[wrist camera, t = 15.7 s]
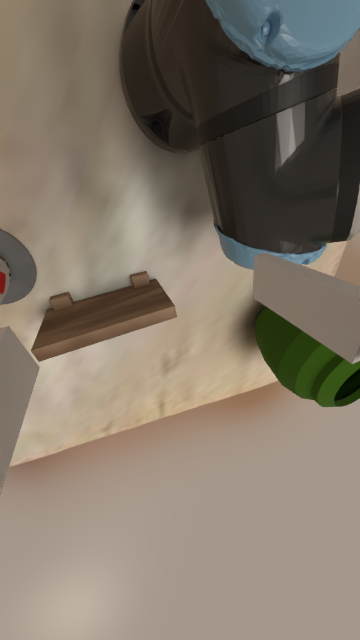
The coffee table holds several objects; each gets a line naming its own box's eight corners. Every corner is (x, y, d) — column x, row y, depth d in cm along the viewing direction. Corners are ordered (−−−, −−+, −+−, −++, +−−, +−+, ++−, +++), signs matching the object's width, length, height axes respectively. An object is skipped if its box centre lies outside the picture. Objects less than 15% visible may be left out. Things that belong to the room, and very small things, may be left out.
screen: (41, 299, 37) (22, 339, 27) (153, 269, 40) (172, 293, 31) (57, 327, 40) (46, 371, 30) (160, 297, 44) (179, 327, 34)
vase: (257, 357, 64) (329, 431, 44) (222, 325, 53) (298, 404, 33) (308, 310, 61) (410, 368, 41) (282, 266, 50) (404, 315, 30)
